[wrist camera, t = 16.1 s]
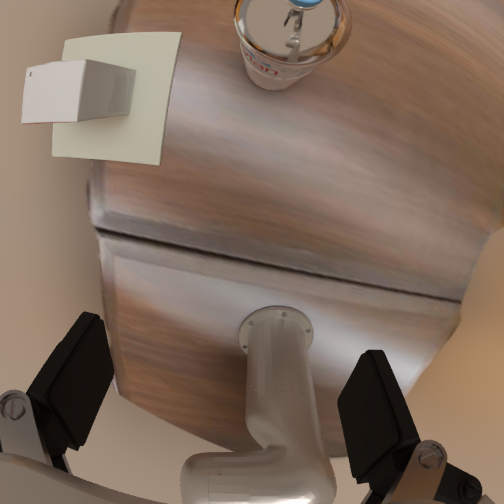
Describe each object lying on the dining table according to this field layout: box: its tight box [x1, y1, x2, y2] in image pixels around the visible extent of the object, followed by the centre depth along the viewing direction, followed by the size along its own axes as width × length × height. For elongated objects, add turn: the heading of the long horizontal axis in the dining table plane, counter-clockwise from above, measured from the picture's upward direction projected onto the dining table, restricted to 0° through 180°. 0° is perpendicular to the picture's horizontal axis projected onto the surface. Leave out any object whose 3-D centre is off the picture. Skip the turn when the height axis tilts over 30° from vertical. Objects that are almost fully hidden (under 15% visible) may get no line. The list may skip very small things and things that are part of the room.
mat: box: [52, 32, 182, 165], centre depth 31 cm, size 18×18×1 cm
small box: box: [21, 59, 136, 124], centre depth 25 cm, size 8×6×13 cm
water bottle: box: [233, 0, 352, 91], centre depth 20 cm, size 7×7×25 cm
